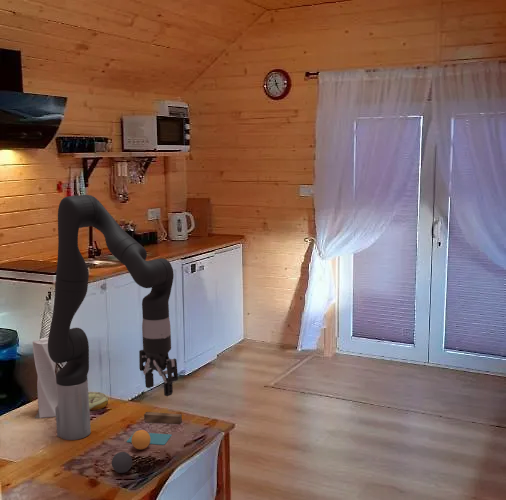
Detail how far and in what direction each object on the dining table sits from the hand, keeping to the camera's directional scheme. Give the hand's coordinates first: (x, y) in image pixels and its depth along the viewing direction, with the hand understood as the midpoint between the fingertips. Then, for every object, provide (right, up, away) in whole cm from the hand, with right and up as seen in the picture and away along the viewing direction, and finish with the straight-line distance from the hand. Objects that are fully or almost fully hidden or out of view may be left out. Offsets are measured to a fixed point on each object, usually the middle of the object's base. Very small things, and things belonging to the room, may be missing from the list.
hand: (158, 391), depth 173 cm
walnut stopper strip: (-3, -17, +32) cm, 37 cm away
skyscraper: (-43, -17, +40) cm, 61 cm away
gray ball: (-10, -19, 0) cm, 22 cm away
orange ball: (-7, -17, +14) cm, 23 cm away
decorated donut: (-30, -16, +47) cm, 58 cm away
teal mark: (-6, -19, +20) cm, 28 cm away
